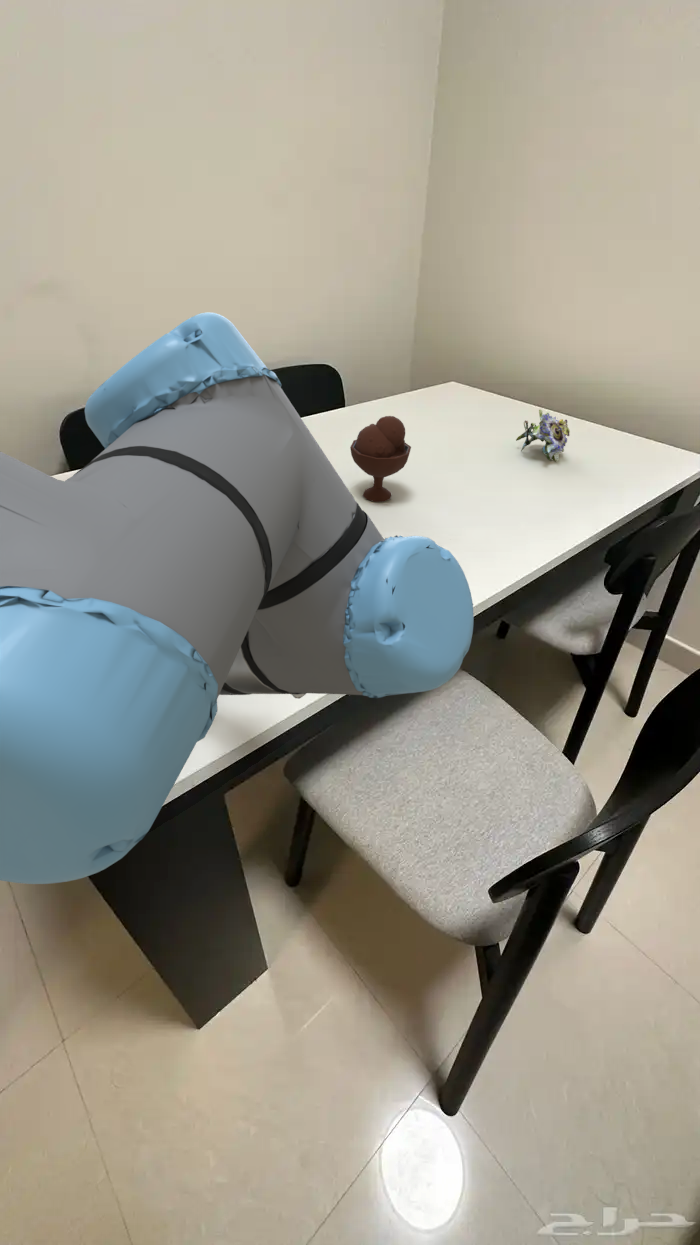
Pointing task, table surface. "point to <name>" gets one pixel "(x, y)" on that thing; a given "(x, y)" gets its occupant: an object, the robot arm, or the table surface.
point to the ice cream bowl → (381, 454)
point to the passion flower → (547, 435)
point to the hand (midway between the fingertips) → (118, 653)
